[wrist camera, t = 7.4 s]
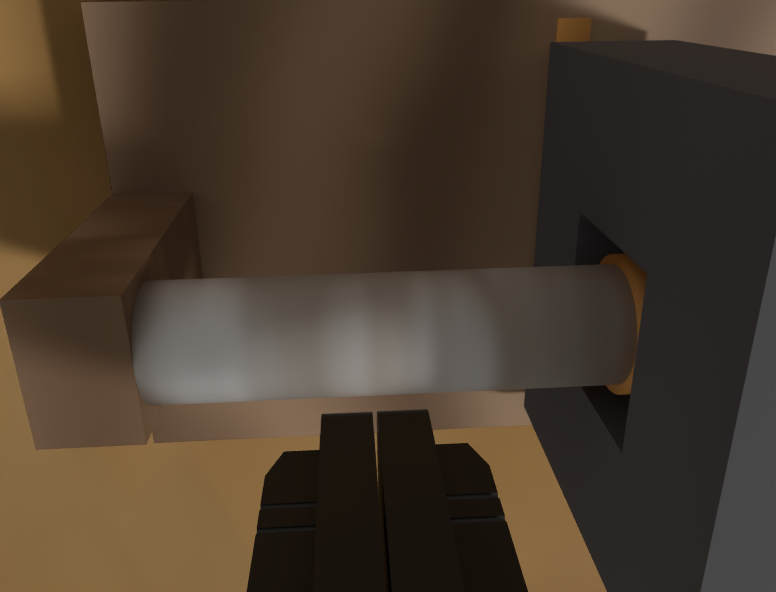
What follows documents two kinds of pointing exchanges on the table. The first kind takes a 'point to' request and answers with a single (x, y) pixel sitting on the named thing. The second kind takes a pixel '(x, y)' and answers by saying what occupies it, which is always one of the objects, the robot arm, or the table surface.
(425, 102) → the pipe stand
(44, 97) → the table surface
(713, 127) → the collar
